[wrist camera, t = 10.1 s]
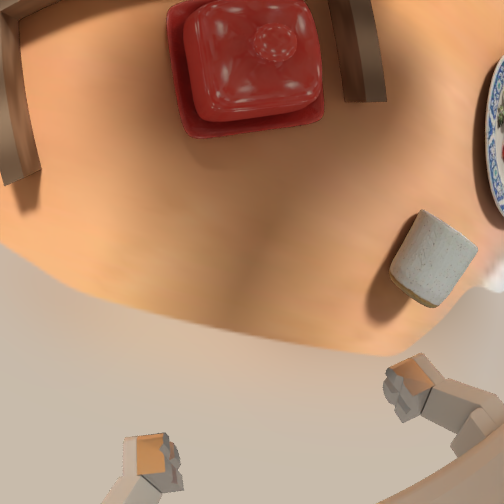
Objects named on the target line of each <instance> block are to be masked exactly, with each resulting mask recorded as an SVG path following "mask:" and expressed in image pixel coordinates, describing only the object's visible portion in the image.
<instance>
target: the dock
mask: <svg viewBox="0 0 504 504" xmlns="http://www.w3.org/2000/svg"><path fill="white" fill-rule="evenodd" d="M59 1H61V0H0V172H1V176H2V179H3V183H4V186H6V185H8V184H11V183H13V182H15V181H18V180H20V179H22V178H25V177H27V176H29V175H31V174H33V173H35V172H37V171H39V170H41V169H42V168H41V165H40V161H39V157H38V153H37V149H36V144H35V140H34V135H33V131H32V126H31V121H30V116H29V111H28V105H27V99H26V93H25V86H24V79H23V71H22V63H21V52H20V40H19V22H18V20H20V19H22V18H24V17H26V16H28V15H30V14H32V13H34V12H36V11H38V10H41V9H43V8H45V7H47V6H49V5H52V4H54V3H56V2H59ZM328 4H329V8H330V13H331V18H332V23H333V28H334V33H335V39H336V44H337V50H338V56H339V62H340V69H341V76H342V83H343V90H344V97H345V102H387V98H386V89H385V81H384V74H383V66H382V60H381V53H380V47H379V41H378V36H377V30H376V25H375V20H374V15H373V11H372V6H371V2H370V0H328Z"/></svg>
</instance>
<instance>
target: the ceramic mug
mask: <svg viewBox="0 0 504 504" xmlns="http://www.w3.org/2000/svg"><path fill="white" fill-rule="evenodd" d="M477 252H478V248H477V246H476V245H475V244H473V243H472V242H471V241H470V240H468V239H467V238H466V237H465V236H464V235H462V234H461V233H460V232H458V231H457V230H455V229H454V228H452V227H451V226H450V225H448V224H447V223H445V222H443V221H442V220H440V219H439V218H437V217H435V216H434V215H432V214H430V213H429V212H427V211H425V210H423V209H422V210H420V212H419V213H418V215H417V217H416V219H415V221H414V223H413V225H412V227H411V229H410V231H409V232H408V234H407V236H406V238H405V240H404V242H403V244H402V245H401V247H400V249H399V250H398V252H397V254H396V256H395V257H394V259H393V261H392V264H391V266H390V269H389V276H390V279H391V280H392V281H393V283H394V284H395V285H396V286H397V287H398V288H399V289H401V290H402V291H403V292H404V293H406V294H407V295H408V296H409V297H411V298H412V299H414V300H415V301H417V302H418V303H420V304H422V305H424V306H426V307H429V308H435V307H437V306H439V305H440V304H441V303H442V302H443V301H444V300H445V299H446V298H447V296H448V295H449V294H450V292H451V291H452V289H453V288H454V286H455V285H456V283H457V282H458V280H459V279H460V277H461V276H462V275H463V273H464V272H465V270H466V269H467V267H468V266H469V264H470V263H471V261H472V260H473V258H474V257H475V255H476V253H477Z"/></svg>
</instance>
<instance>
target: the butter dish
mask: <svg viewBox="0 0 504 504" xmlns="http://www.w3.org/2000/svg"><path fill="white" fill-rule="evenodd" d="M167 36H168V45H169V52H170V60H171V67H172V73H173V80H174V86H175V93H176V97H177V103H178V107H179V113H180V116H181V121H182V124H183V127H184V129H185V131H186V133H187V134H188V135H189V136H190V137H192V138H197V139H204V138H212V137H221V136H227V135H235V134H240V133H249V132H256V131H263V130H270V129H277V128H286V127H294V126H301V125H306V124H310V123H314V122H316V121H318V120H320V119H321V118H322V116H323V114H324V94H323V84H322V61H321V52H320V44H319V39H318V34H317V30H316V26H315V23H314V19H313V17H312V14H311V12H310V10H309V8H308V6H307V4H306V3H305V1H304V0H189V1H185V2H181V3H178V4H176V5H174V6H172V7H171V8H170V9H169V11H168V13H167Z"/></svg>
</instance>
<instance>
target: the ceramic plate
mask: <svg viewBox="0 0 504 504" xmlns="http://www.w3.org/2000/svg"><path fill="white" fill-rule="evenodd" d="M485 152H486V164H487V172H488V179H489V183H490V188H491V192H492V195H493V198H494V201H495V204H496V206H497V208H498V210H499V211H500V213H501V214H502V215H503V217H504V55H503V56H502V57H501V59H500V60H499V62H498V64H497V66H496V68H495V71H494V73H493V77H492V80H491V84H490V88H489V94H488V100H487V108H486V121H485Z"/></svg>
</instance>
